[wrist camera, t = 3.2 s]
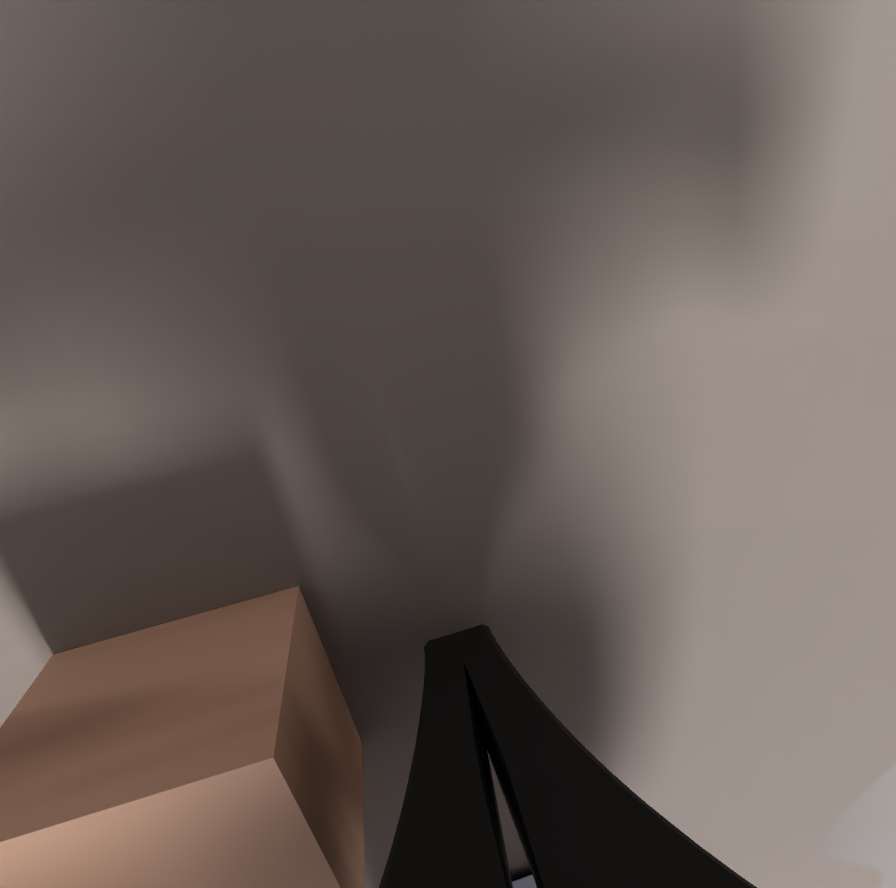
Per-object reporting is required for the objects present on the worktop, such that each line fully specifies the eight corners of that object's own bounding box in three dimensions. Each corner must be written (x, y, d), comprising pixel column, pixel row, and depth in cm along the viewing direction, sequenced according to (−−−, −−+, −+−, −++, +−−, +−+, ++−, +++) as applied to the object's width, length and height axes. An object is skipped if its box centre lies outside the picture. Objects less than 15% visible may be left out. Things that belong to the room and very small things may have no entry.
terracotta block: (361, 737, 13) (366, 937, 9) (161, 799, 12) (79, 1037, 9) (299, 581, 11) (272, 757, 7) (56, 649, 10) (-107, 874, 7)
